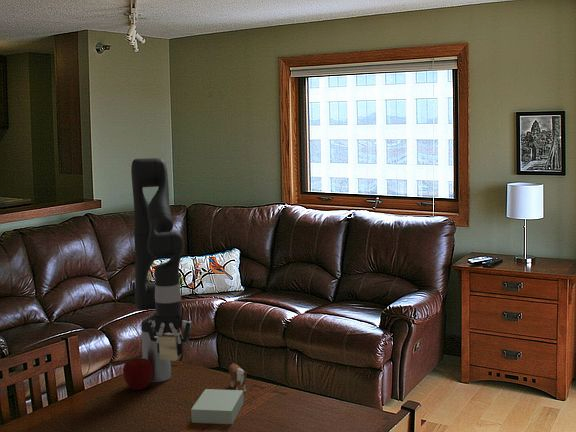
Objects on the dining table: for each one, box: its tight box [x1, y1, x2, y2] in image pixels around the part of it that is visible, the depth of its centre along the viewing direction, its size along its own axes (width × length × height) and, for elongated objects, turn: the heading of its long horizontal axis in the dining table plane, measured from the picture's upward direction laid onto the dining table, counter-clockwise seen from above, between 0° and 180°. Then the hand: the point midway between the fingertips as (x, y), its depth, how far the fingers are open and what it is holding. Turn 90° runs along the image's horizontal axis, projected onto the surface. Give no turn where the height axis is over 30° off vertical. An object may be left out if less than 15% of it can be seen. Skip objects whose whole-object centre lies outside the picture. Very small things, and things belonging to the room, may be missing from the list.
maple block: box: [159, 333, 182, 362], centre depth 219 cm, size 5×5×7 cm
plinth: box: [190, 388, 245, 425], centre depth 220 cm, size 16×12×4 cm
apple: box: [122, 357, 153, 391], centre depth 240 cm, size 10×10×10 cm
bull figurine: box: [228, 362, 248, 393], centre depth 238 cm, size 4×13×8 cm, turn 15°
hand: (170, 354), depth 219 cm, fingers closed on maple block, 5 cm apart
